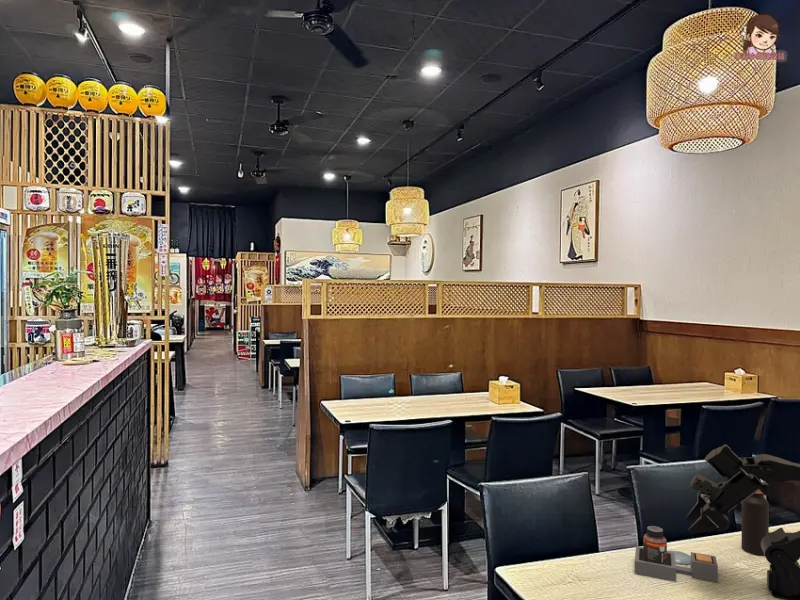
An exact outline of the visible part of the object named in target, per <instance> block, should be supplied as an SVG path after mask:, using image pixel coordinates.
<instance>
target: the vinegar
mask: <svg viewBox="0 0 800 600" xmlns="http://www.w3.org/2000/svg"><path fill="white" fill-rule="evenodd" d="M742 504H743V505H742V506H741V541H740V543H741V549H742V550H743V551H744V552H746V553H748V554H751V555H755V556H762V557H763V556H765V555H764V552H763V550H762V548H761V541H762V538H763V537H765V536H766V535H767V534H766V532H770V529H769V525H770V524H769V523H770V521H769V520H770V518H769V517H770V515H769V514H770V513H769V512H770V504H769V501H768V500H767V499H766V497H765V495H764V494H763V493H762V492H761V491H760V490H758V491H757V492H755V493H754V494H753V495H751V496H750V497H748V498H747V499H746V500H744V501H743V502H742Z"/></svg>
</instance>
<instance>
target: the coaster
mask: <svg viewBox="0 0 800 600" xmlns="http://www.w3.org/2000/svg"><path fill="white" fill-rule="evenodd" d="M667 552H673V553H675V564H676V565H678V566H689V565H690V566H691V554H688V553H686V552H681V551H679V550H667Z"/></svg>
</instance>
